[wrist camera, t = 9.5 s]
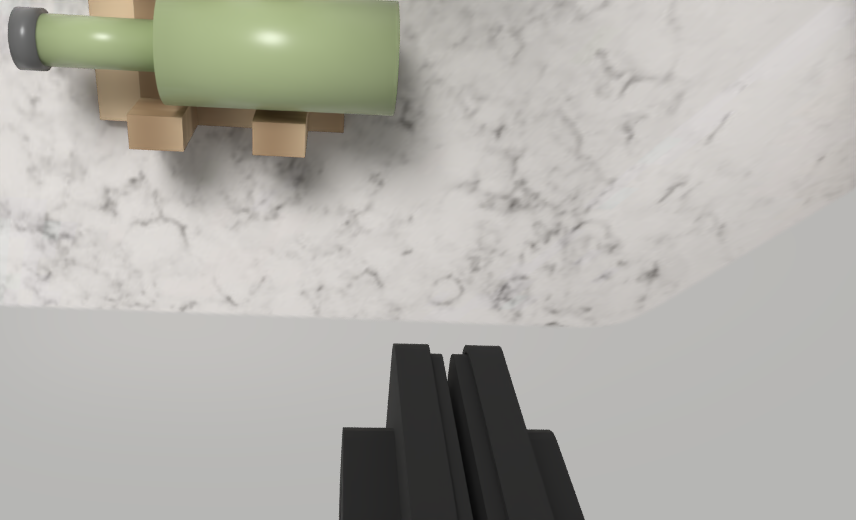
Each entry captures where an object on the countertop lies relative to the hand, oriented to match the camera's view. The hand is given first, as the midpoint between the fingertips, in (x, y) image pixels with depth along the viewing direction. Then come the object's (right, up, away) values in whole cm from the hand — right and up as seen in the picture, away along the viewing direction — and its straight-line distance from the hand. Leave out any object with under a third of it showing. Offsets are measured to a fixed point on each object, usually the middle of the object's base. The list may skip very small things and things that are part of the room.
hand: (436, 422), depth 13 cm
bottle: (-2, +12, +23) cm, 26 cm away
